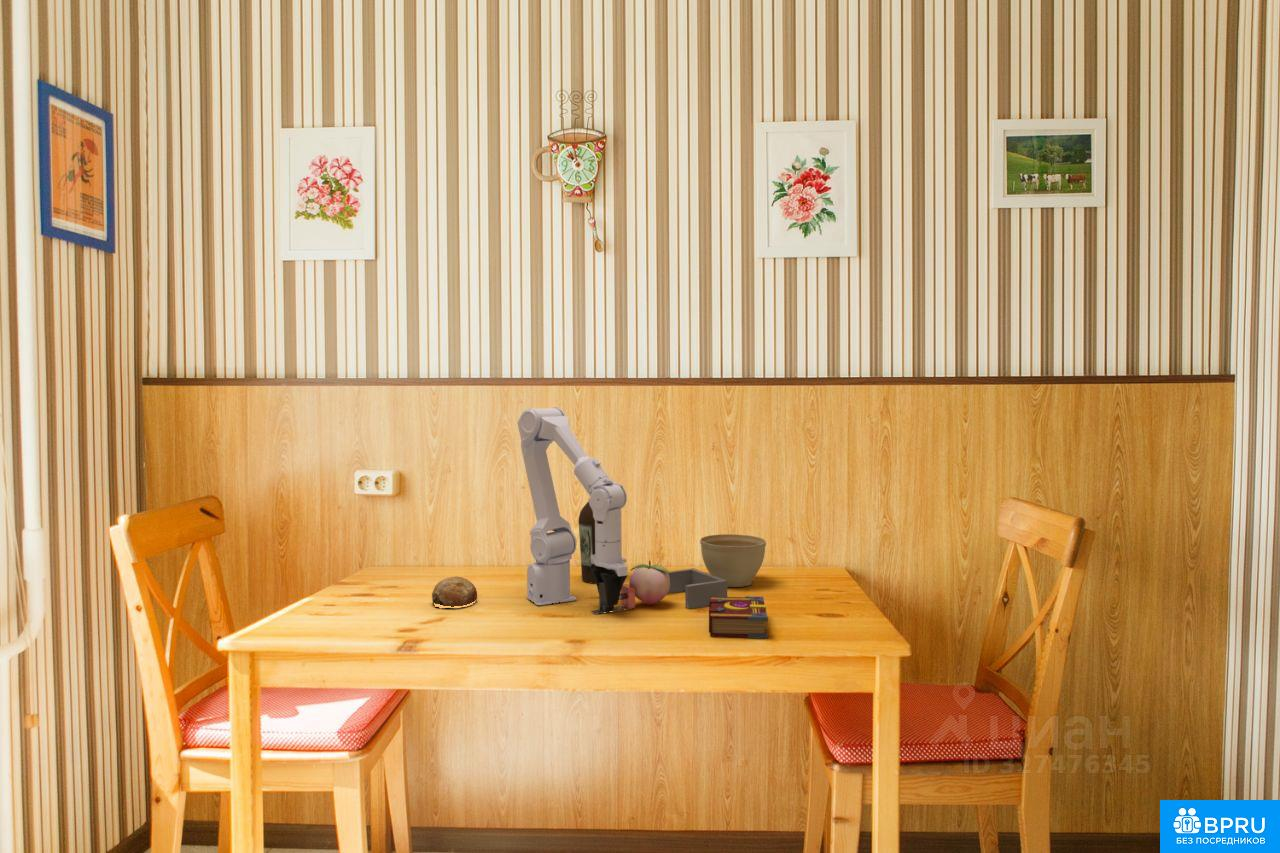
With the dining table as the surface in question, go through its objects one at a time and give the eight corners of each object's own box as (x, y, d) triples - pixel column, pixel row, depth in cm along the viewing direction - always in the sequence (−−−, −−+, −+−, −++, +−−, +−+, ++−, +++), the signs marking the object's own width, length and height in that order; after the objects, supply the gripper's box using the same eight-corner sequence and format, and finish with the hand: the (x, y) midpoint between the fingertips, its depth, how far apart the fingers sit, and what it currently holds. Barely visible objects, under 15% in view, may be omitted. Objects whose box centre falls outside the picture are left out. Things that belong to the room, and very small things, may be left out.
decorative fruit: (675, 601, 176) (674, 557, 175) (666, 611, 168) (666, 565, 167) (635, 598, 178) (634, 555, 178) (625, 608, 170) (624, 563, 170)
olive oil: (610, 572, 204) (608, 478, 203) (628, 581, 195) (627, 482, 194) (572, 577, 199) (571, 480, 198) (589, 586, 190) (588, 484, 189)
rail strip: (595, 614, 166) (595, 613, 166) (590, 612, 168) (590, 610, 168) (632, 609, 170) (632, 607, 170) (627, 606, 172) (627, 605, 172)
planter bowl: (745, 595, 180) (745, 548, 180) (687, 585, 190) (687, 541, 190) (777, 581, 193) (777, 538, 193) (722, 572, 203) (721, 531, 203)
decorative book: (708, 639, 150) (708, 613, 150) (710, 614, 166) (709, 591, 166) (768, 640, 149) (768, 614, 148) (763, 616, 165) (763, 592, 164)
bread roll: (428, 620, 176) (417, 592, 172) (456, 591, 184) (445, 564, 180) (462, 626, 171) (451, 597, 168) (489, 596, 179) (479, 568, 176)
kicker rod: (603, 612, 166) (603, 584, 165) (596, 608, 169) (596, 580, 169) (635, 607, 169) (634, 580, 169) (627, 603, 172) (627, 576, 172)
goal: (688, 609, 169) (688, 586, 169) (656, 594, 182) (656, 573, 182) (727, 602, 174) (727, 580, 174) (693, 588, 187) (693, 568, 186)
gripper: (640, 544, 163) (640, 607, 164) (610, 533, 176) (611, 592, 177) (609, 547, 160) (610, 612, 160) (582, 536, 173) (582, 596, 173)
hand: (609, 602), depth 168 cm, fingers closed on kicker rod, 3 cm apart
